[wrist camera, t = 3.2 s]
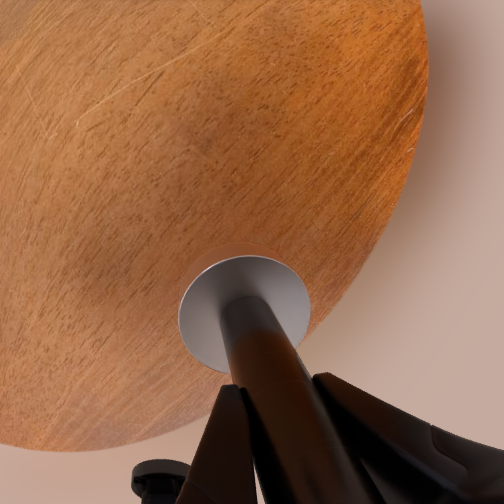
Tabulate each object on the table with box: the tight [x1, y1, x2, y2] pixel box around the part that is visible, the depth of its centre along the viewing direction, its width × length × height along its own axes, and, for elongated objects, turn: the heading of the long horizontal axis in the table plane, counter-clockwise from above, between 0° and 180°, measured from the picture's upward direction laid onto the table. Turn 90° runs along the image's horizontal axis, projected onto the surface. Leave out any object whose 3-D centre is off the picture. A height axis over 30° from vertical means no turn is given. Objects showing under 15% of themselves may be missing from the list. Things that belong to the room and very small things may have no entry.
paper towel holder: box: [178, 242, 387, 504], centre depth 8 cm, size 5×5×11 cm
